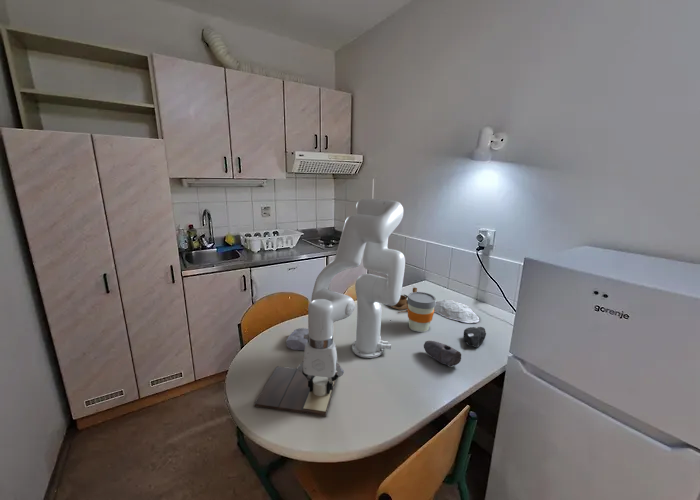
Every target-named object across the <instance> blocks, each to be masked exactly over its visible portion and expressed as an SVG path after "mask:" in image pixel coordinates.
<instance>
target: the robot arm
mask: <svg viewBox="0 0 700 500" xmlns="http://www.w3.org/2000/svg"><path fill="white" fill-rule="evenodd" d="M355 209H356V214H351V215H349V216H347V217H346V219H345V221H344V225H343V228H342V232H341V235H340V240H339V242H338V246H337V250H336V254H335V257H334V258H333V260H331V261H330V262H329V263H328V264H327V265H325V267H323V268H322V270H321V271H320V272H319V274H318V275H317V277H316V279H315V282H314V285H313V289H312V292H311V299H310V302H309V304H308V306H307V327H308V328H307V329H308V334H304V339H307V340H308V341H307V343H306V345H305V350H303V361H302V362H300V363H299V364H298V366H297V369H298V370H299V371H300V372H302V373H303V375H304V376H305V377H306V378H307V380H308V387H310V392H311V391H312V390H313V378H314V376H321V377H327V378H328V383H327V393H328V394H329V393H330V390H332V389H333V381H334V380H336V381H337V380H338V378H340V377H342V376H343V375H344V373H345V371H344V369H343V368H342V367H341V365H340V364H339V363H338V352H337V345H336V342H335V341H334V323H335V322H338V321H342V320H346V319H348V317H351V315H352V314H353V313H354V310H355V307H357V308H356V330H355V331H356V335H355V340H354V341H353V342H352V344H351V351H352V352H353V353H354V355H356V356H358V357H360V358H365V359H373V358H377V357H379V356H381V355H382V354H383V352H384V349H385V350H391V349H392V344H391V343H389V341H388V340H383V339H382V336H381V327H382V315H383V314H382V312H383V311H382V306H381V304H382V305H385V306H390V307H391V306H393V305H396V304H397V303H398V302H399V299H400V296H401V295H402V290H403V285H404V284H403V283H404V278H405V277H404V276H405V269H406V257H405V254H404V253H403V252H402V251H400V250H397V249H393V248H388V245H389V244H388V243H389V237H390V236H391V234H393V232H394V231H395V230H396V228H397V227H398V226H399V225H400V224H401V222H402V220H403V217H404V206H403V205H402V203H401V202H399V201H398V200H391V199H380V198H368V197H367V198H361V199H359V200H358V201H357V202H356V206H355ZM361 264H362V267H363V268H364V269H365V270H367V271H370V272H374V273H377V275H376V274H371V273H363V274H361V275H359V276H358V277H357V279H356V280H355V284H354V286H355V287H354V288H355V289H354V291H355V296H356V303H355V300H354V299H353V298H352V297H351V296H350V295H347V294H345V293H341V292H338V291H335V290H332V289H330V285H331V282H332V280H333V279H334V278H335V277H336V276H337V275H338V274H339V273H341V272H344V271H346V270H351V269H355V268H358V267H359V266H360V265H361ZM378 274H382V275H386V277H385V276H380V275H378ZM333 390H334V389H333Z"/></svg>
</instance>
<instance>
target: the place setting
mask: <svg viewBox="0 0 700 500" xmlns="http://www.w3.org/2000/svg"><path fill="white" fill-rule="evenodd" d="M413 292H418V288H417V287H412V293H413ZM407 300H408V296H405V295H403V294H401V296H400V299H399V302H398V303H397V304H396V305H393V306H390V307H391V308H392V309H395V310H399V311H398V312H397V314H399V313H404V312H408V310H407V306H408V302H407Z"/></svg>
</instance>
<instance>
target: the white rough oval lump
mask: <svg viewBox="0 0 700 500" xmlns="http://www.w3.org/2000/svg"><path fill="white" fill-rule="evenodd" d="M434 313H435V314H438V315H440V316H442V317H443V318H446V319H450V320H455V321H459V322H461V323H467V324H477V323H478V322H479V321H480V317H479V316H478V315H477V314H476V313H475V312H474V310H473V309H472V308H471V307H470V306H468V305H467V304H464V303H462V302H458V301H455V300H452V299H439V300H437V301H436V305H435V307H434Z"/></svg>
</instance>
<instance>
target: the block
mask: <svg viewBox="0 0 700 500" xmlns="http://www.w3.org/2000/svg"><path fill="white" fill-rule="evenodd" d="M304 334H308V328H307V327H306V328H305V327H300V328H299V327H298V328H296V329H294V330H293V331H292V332H291V333H290V334H289V336H288V337H287V339H286V341H285V345H286V347H287V349H291V350H293V351H294V350H295V351H304V350H305V345H306V343H307V341H308V340H307V339H304Z"/></svg>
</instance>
